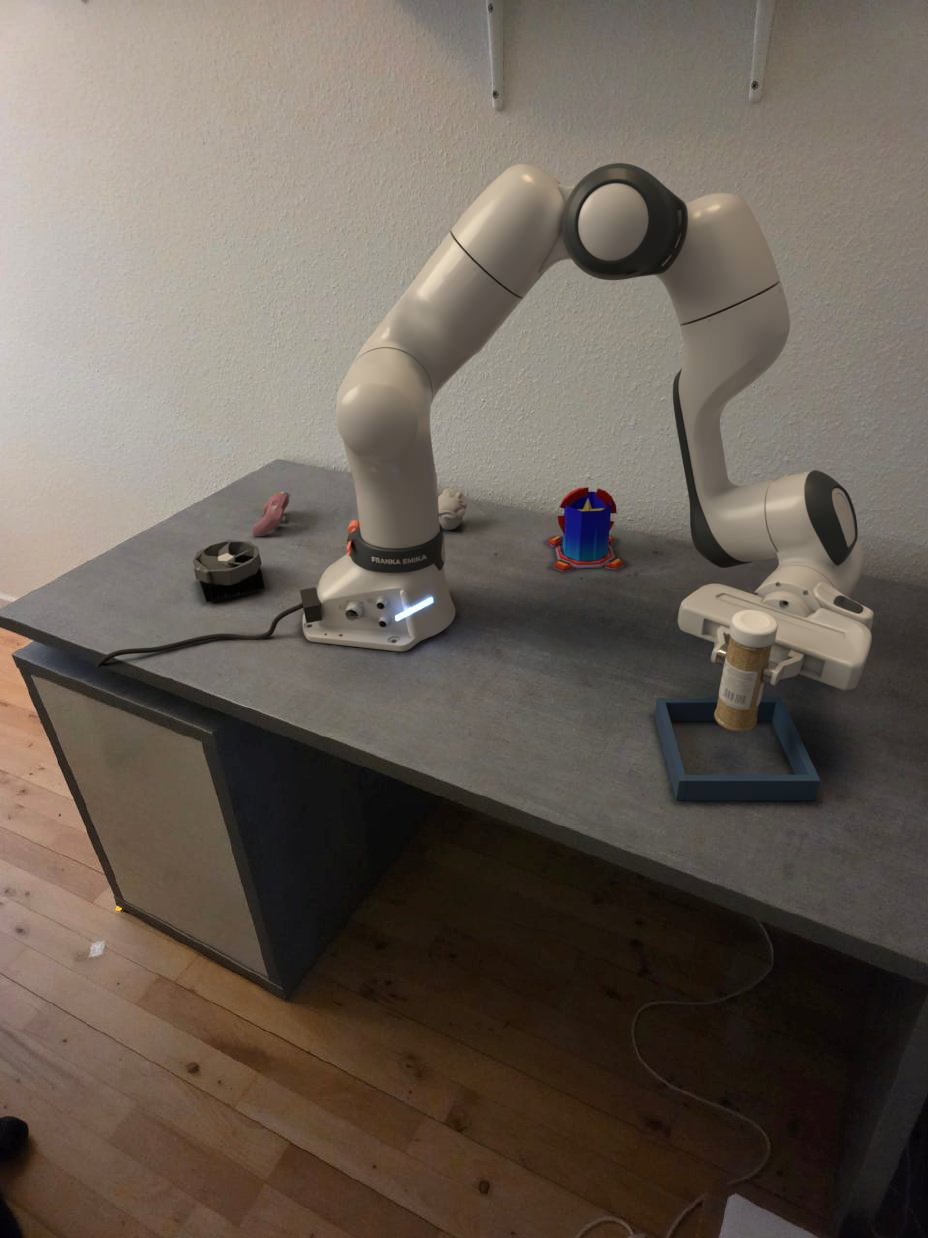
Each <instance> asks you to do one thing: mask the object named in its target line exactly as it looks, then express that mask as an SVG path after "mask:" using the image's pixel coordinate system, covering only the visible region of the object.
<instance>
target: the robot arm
mask: <svg viewBox="0 0 928 1238" xmlns="http://www.w3.org/2000/svg"><path fill="white" fill-rule="evenodd" d="M565 260H572V262H573V263H574V264H575V265H576V266H577V268H579V270H581V271H582V272H583V273H585V274H587V275H588V276H591V277H593V278H596V279H598V280H603V281H622V280H624V281H625V280H629V279H634V278H640V277H641V278H642V277H648V276H649V277H650V276H655V277H656V278H657V279H659V281H660V282H661V283H662V284H663V286H664V287H665V289H666V292H667V293H668V296H669V298H670V301H671V303H672V306H673V309H674V313H675V316H676V318H677V321H678V324H679V328H680V331H681V334H682V341H683V361H682V365H681V366H682V367H681V368H680V370H678V372H677V373H676V374H675V377H674V378H673V383H672V403H673V412H674V418H675V419H674V421H675V425H676V426H675V427H676V431H677V433H676V434H677V439H678V443H679V449H680V454H681V461H682V467H683V471H684V478H685V482H686V488H687V494H688V501H689V523H690V525H689V527H690V535H691V540H692V543H693V546H694V548H695V550H696V551H697V552H698V553H699V554H700V555H701V556H702V557H703V558H704V559H706V561H708V562H710V563H711V564H713V565H714V566H716V567H718V568H720V569H729V568H734V567H736V566H741V565H747V564H750V563H752V562H758V561H765V560H773V559H778V566H777V568H775V570H773V571H772V572H771V573H770V574H769V575H768V576H767V577H766V579H765V580H764V581H763V582H762V583H761V584H760V585H759V587H757V588H756V590H755V591H754V592H753V593H751V592H747V591H744V590H741V589H738V588H735V587H732V586H729V585H726V584H722V583H708V584H705V585H702V586H701V587H699V588H698V589H696V590H695V591H693V592H692V593H691V594H689V595H688V596H686V597H685V598H684V599H683V600H682V601H681V603H680V605H679V610H678V615H677V625H678V628H679V629H680V631H682V632H683V633H686V634H688V635H691V636H694V637H697V638H700V639H702V640H705V641H708V642H711V643H714V644H713V648H712V651H711V656H710V662H711V663H714V664H717V665H720V666H722V667H724V663H725V658H726V655H727V650H728V645H729V640H730V633H729V630H730V625H731V620H732V617H733V616H734V615H735V614H736V613H738V612H740V611H744V610H756V611H761V612H764V613H767V614H769V615H770V616H772V617H773V618H774V619H775V620H776V621H777V624H778V630H777V635H776V639H775V641H774V643H773V645H772V647H771V652H770V658H769V662H768V665H767V666H766V667H765V668H764V671H763V676H762V678H761V680H762V681H764V682H765V683H767V684H769V685H771V686H773V687H774V686H777V685H778V683H779V682H780V681H781V680H785V679H789V678H793V677H797V676H798V675H801V676H803V677H805V678H809V679H811V680H814V681H817V682H820V683H822V684H824V685H827V686H830V687H833V688H836V689H838V690H841V691H850V690H855V689H856V688H857V687H858V685H859V682H860V681H861V677H862V675H863V672H864V669H865V666H866V663H867V660H868V656H869V653H870V650H871V645H872V641H873V637H872V628H873V623H874V618H875V617H874V616H875V612H874V611H873V610H872V609H870V608H869V607H867V606H865V605H863V604H861V603H859V602H857V601H855V600H853V599H852V598H850V597H851V596H852V595H853V593H854V591H855V589H856V588H857V586H858V583H859V581H860V578H861V576H862V572H863V568H864V559H865V557H864V551H863V547H862V545H861V543H860V541H859V540H858V536H859V529H858V521H857V520H858V519H857V514H856V510H855V506H854V504H853V501H852V499H851V496H850V494H849V492H848V491H847V490H846V489H845V488H844V487H843V486H842V485H841V484H840V483H839V482H838V481H837V480H836V479H834V478H833V477H831V475H829V474H827V473H825V472H823V471H820V470H817V469H814V470H811V471H804V472H798V473H793V474H790V475H784V476H778V477H775V478H774V479H769V480H763V481H758V482H754V483H753V482H752V483H749V484H748V483H747V484H744V485H737V484H734V483H732V482H731V481H730V479H729V477H728V469H727V464H726V457H725V450H724V444H723V438H722V432H721V417H722V413H723V411H724V409H725V407H726V406H727V404H728V403H730V401H732V399H733V398H735V397H736V396H737V395H738V394H740V393H741V392H742V391H744V390H745V389H746V388H747V387H749V386H750V385H752V384H753V383H754V382H755V381H757V380H758V379H759V378H760V377H762V375H764V374H765V373H766V372H767V371H768V370H769V369H770V368H771V367H772V366H773V364H774V363H776V361H777V359H778V358H779V357H780V355H781V354H782V352H783V350H784V348H785V346H786V343H787V341H788V338H789V334H790V329H791V324H790V323H791V320H790V311H789V306H788V303H787V297H786V294H785V291H784V288H783V284H782V281H781V278H780V274H779V271H778V268H777V265H776V262H775V260H774V257H773V254H772V252H771V249H770V247H769V244H768V242H767V239H766V237H765V234H764V233H763V231H762V229H761V227H760V224H759V222H758V221H757V219H756V217H755V215H754V213H753V211H752V209H751V208H750V205H748V203H747V202H746V201H745V200H744V199H743V198H742V197H740V196H739V195H737V194H734V193H730V192H715V193H709V194H705V195H702V196H700V197H698V198H695V199H693V200H691V201H688V202H685V201H684V200H682V199H681V198H680V197H679V196H677V195H676V194H675V193H674V192H673V191H671V190H670V189H669V188H668V187H667V186H665V185H664V183H662V182H661V181H660V180H659V179H658V178H656V177H655V176H654V175H653V174H652V173H650V172H649V171H647V170H645V169H643V168H642V167H640V166H637V165H634V164H630V163H625V162H615V163H609V164H605V165H602V166H600V167H598V168H595V169H593V170H592V171H590V172H589V173H587V174H586V175H585V176H583V178H581V180H580V181H579V182H578V183H577V184H576V185H571V186H569V185H565V184H564V183H561V182H560V181H559V180H557V178H555V177H554V176H553V175H552V174H551V173H550V172H548V171H546V170H545V169H543V168H541V167H539V166H536V165H533V164H528V163H518V164H517V163H516V164H513V165H511V166H509V167H508V168H506V169H505V170H504V171H503V172H501V174H500V175H499V176H497V177H496V178H495V179H494V180H493V181H492V182H491V183H490V184H489V185H488V186H487V187H486V188H485V189H484V190H483V191H482V192H481V193H480V194H479V195H478V196H477V198H476V199H474V200H473V202H472V203H471V204H470V205H469V207H467V208H466V210H465V211H464V212H463V214H462V215H461V216H460V217H459V219H458V220H457V221H456V223H455V224H454V225H453V226H452V228H451V229H450V230H449V232H448V233H447V234H446V236H445V237H444V239H443V240H442V241H441V243H440V244H439V245H438V247H437V248H436V249H435V251H434V252H433V254H432V255H431V256H430V257H429V259H428V260H427V261H426V263H425V264H424V266H423V267H422V268H421V270H420V271H419V273H418V274H417V275H416V276H415V278H414V279H413V281H412V282H411V283H410V285H409V286H408V288H407V289H405V291H404V293H402V295H401V297H400V298H399V299H398V300H397V302H396V303H395V304H394V306H392V308H391V309H390V310H389V312H388V313H387V314H386V316H385V317H384V318H383V319H382V320H381V322H380V323H379V324H378V326H377V327H376V328H375V330H374V331H373V332H372V334H371V335H370V337H369V338H368V339H367V340H366V341H365V343H364V345H362V347H361V349H360V350H359V351H358V353H357V354H356V356H355V358H354V360H353V361H352V363H351V365H350V368H349V369H348V371H347V373H346V375H345V376H344V378H343V380H342V382H341V384H340V386H339V388H338V390H337V394H336V401H335V417H336V426H337V429H338V433H339V434H340V437H341V439H342V443H343V446H344V450H345V454H346V458H347V461H348V465H349V468H350V471H351V474H352V479H353V480H352V481H353V484H354V491H355V498H356V499H355V500H356V507H357V516H358V517H357V518H358V519H352V520H351V521H350V522H349V525H348V527H347V534H348V535H347V539H346V544H347V545H346V552H347V553H346V554H344V555H343V556H342V557H340V558H339V559H336V560H335V562H333V563H332V564H330V565H329V566H327V568H326V569H325V570H324V572H323V573H322V575H321V577H320V578H319V582H318V583H317V587H309V588H303V589H300V590H299V593H300V599H301V602H300V603H298V604H296V605H294V606H291V607H290V608H288V609H285V610H284V611H282V612H280V613H279V614H277V615H276V616H275V618H273V620H272V621H271V624H270V627H269V629H268V631H266V632H264V633H261V634H258V635H243V634H236V633H213V634H207V635H202V636H196V637H192V638H188V639H184V640H180V641H176V642H172V643H167V644H163V645H158V646H151V647H137V648H136V647H133V648H125V649H119V650H114V651H112V652H109V653H107V654H105V655H104V656H103V657H101V658H100V659H99V660H98V661H97V662H96V664H95V666H94V667H95V668H100V667H102V666H103V665H104V664H106V662H108V661H109V660H111V659H113V658H116V657H119V656H125V655H134V654H135V655H137V654H151V653H157V652H159V653H160V652H164V651H168V650H172V649H177V648H181V647H185V646H189V645H192V644H197V643H200V642H205V641H206V642H207V641H212V640H220V639H222V640H223V639H225V640H226V639H227V640H237V641H238V640H239V641H260V640H265V639H267V638H270V637H271V636H272V635H273V634H274V633H275V631H276V628H277V625H278V623H279V622H280V621H281V620H282V619H283V618H285V617H287V616H289V615H291V614H293V613H295V612H298V611H299V610H301V609H303V614H302V622H301V623H302V633H303V636H304V637H305V639H306V640H307V641H308V642H312V643H318V644H328V645H336V646H337V645H338V646H348V647H356V648H357V647H358V648H366V649H374V650H383V651H391V652H399V653H400V652H407V651H410V650H411V649H412V648H413V647H415V646H416V645H417V644H418V643H420V642H422V641H424V640H426V639H429V638H431V637H433V636H436V635H437V634H440V633H441V632H443V631H445V630H446V629H447V628H448V627H449V626H450V625H451V624H452V622H453V621H454V619H455V616H456V607H455V604H454V603H453V600H452V596H451V595H450V591H449V587H448V583H447V578H446V573H445V567H444V566H445V561H446V545H445V542H446V541H445V535H444V529H443V528H442V525H441V524H440V523H439V507H438V497H439V492H438V491H439V489H438V473H437V471H436V466H435V459H434V452H433V443H432V432H431V408H432V404H433V402H434V400H435V399H436V396H437V395H438V394H439V392H440V390H441V389H442V388H443V387H444V386H445V385H446V384H447V383H448V382H449V381H450V379H452V377H454V375H455V374H456V373H458V371H460V369H461V368H462V367H463V366H464V365H466V363H468V362H469V361H470V360H471V359H472V358H473V357H475V355H477V354H479V353H480V352H481V351H482V350H483V348H484V347H485V346H486V344H488V343H489V341H490V340H491V338H492V337H493V336H494V335H495V334H496V333H497V331H498V330H499V329H500V328H501V326H502V325H503V324H504V323H505V321H506V320H508V318H509V317H510V316H511V314H512V313H513V312H514V311H515V310H516V308H517V307H518V306H519V304H520V303H521V302H522V301H523V300H524V299H525V297H526V296H527V295H528V294H529V292H530V291H531V290H532V288H533V287H534V286H535V284H537V282H538V281H539V280H540V279H541V277H543V275H544V274H545V273H546V272H548V271H549V269H551V268H552V267H553V266H555V265H556V264H557V263H559V262H562V261H565Z"/></svg>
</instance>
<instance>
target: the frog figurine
mask: <svg viewBox="0 0 928 1238" xmlns="http://www.w3.org/2000/svg"><path fill="white" fill-rule="evenodd" d="M438 507H439V523H440V524H441V525H442V528H443V531H444V530H445V531H452V530H455V529H456V528H457V527H459V526H460V524H461V523H462V521H463V520H464V516H465V514H466V509H467V507H468V501H467V498H466V496H465V494H464V493H463V492H461V491H460V490H457V489H451V488H445V489H443V491H442V493H440V495H438Z"/></svg>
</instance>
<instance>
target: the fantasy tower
mask: <svg viewBox="0 0 928 1238" xmlns="http://www.w3.org/2000/svg"><path fill="white" fill-rule="evenodd" d="M589 489H590V488H589V486H586V487H585V486H584V487H578V488H575V489H573V490H571V491H570V492H568V493H567V495H566V496H565V497H563V499H562V500H561V502H560V505H559V508H560V509H563V515H557V523H558V526H559V528H560V530H561V532H562V535H555V536H553V537H552V538H550V539H549V540H547V542H546V544H547V545H548V546H549V547H551V548H553V549H554V552H555V556H556V560H557V561H556V562H555V563H554V565H553V566H552V569H553V570H556V571H559V572H560V573H563V574H564V573H567V572H571V571H573V570H575V569H597V568H598V569H600V568H604V569H607V570H612V571H619V570H620V569H622V568H623V567H625V566H626V564H625V563H624V562H623V560H621V559H620V558H619V557H617V556H615V554H614V553H615V552H614V551H613V548H612V545H614V543H615V541H616V539H615V538H614V537H613V536H612V535H610V531H611V529H612V528H613V526H614V523H615V520H611V516H612V515H613V514H617V513H618V512H617V503H616V502H615V500H614V499H613V496H612V495H611V494H610V493H609V492H608V491H607V490H604V489H602V488H598V487H597V490H596V491H594V490H593V491H589Z"/></svg>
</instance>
